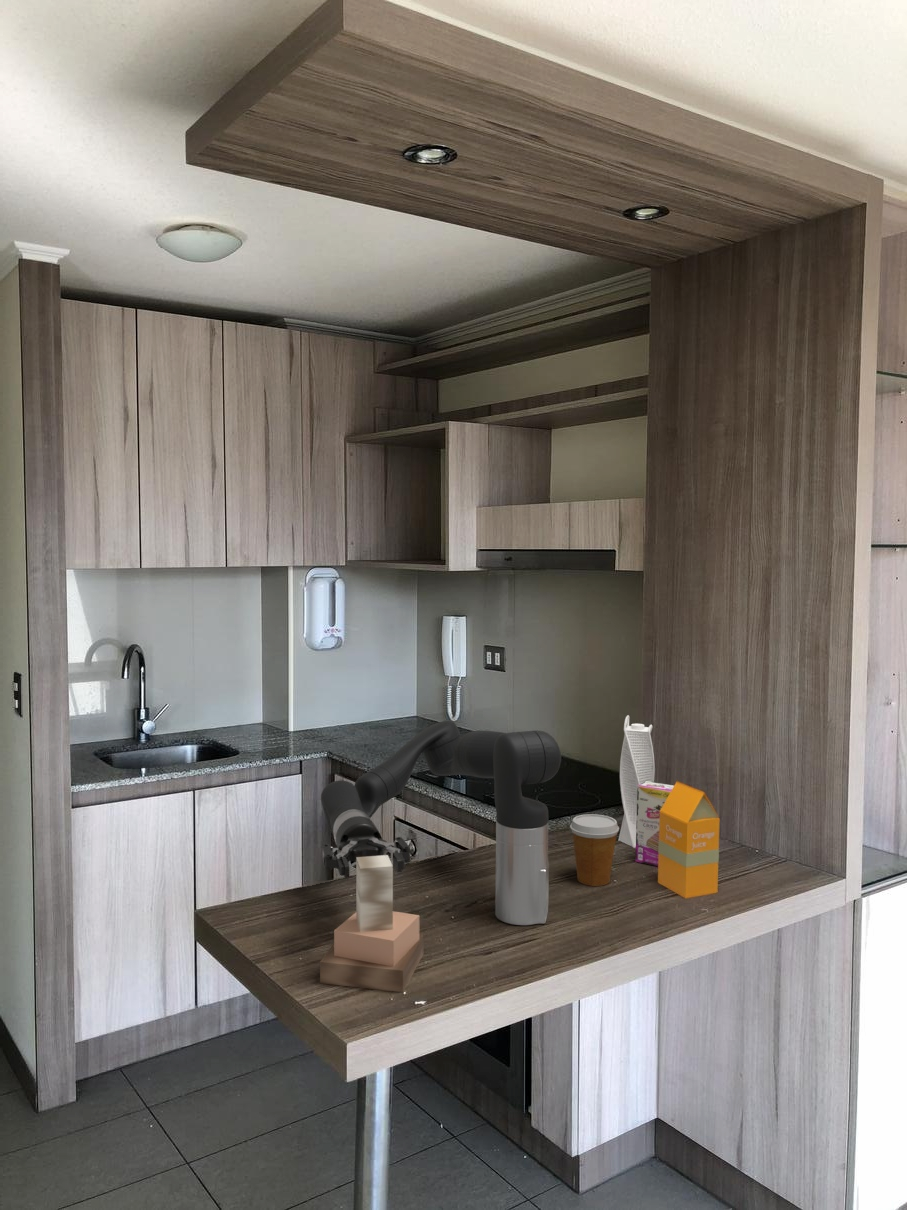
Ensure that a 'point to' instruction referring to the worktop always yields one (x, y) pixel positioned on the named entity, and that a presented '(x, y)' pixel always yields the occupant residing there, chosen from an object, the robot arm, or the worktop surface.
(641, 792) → the candy bar box
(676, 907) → the worktop surface
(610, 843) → the disposable coffee cup
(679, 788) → the orange juice
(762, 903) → the worktop surface
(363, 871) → the cream block
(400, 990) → the tower base block
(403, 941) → the tower top block
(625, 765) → the skyscraper
